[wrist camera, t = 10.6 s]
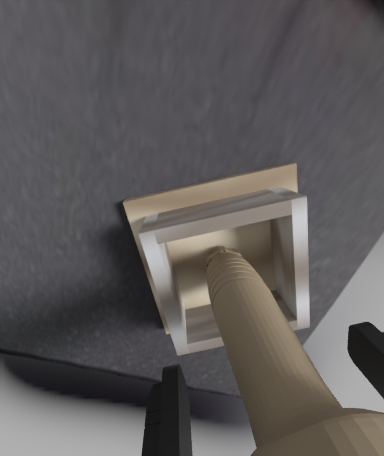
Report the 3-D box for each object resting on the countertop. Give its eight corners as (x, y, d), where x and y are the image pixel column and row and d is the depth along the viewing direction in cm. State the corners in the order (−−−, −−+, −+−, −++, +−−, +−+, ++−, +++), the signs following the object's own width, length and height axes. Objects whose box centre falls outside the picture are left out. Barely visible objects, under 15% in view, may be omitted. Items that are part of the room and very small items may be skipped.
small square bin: (125, 199, 18) (107, 217, 13) (290, 162, 18) (330, 167, 13) (166, 326, 23) (164, 372, 18) (296, 298, 23) (327, 336, 18)
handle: (260, 235, 19) (514, 481, 5) (233, 294, 21) (361, 593, 7) (208, 220, 18) (340, 472, 4) (185, 284, 20) (221, 603, 6)
